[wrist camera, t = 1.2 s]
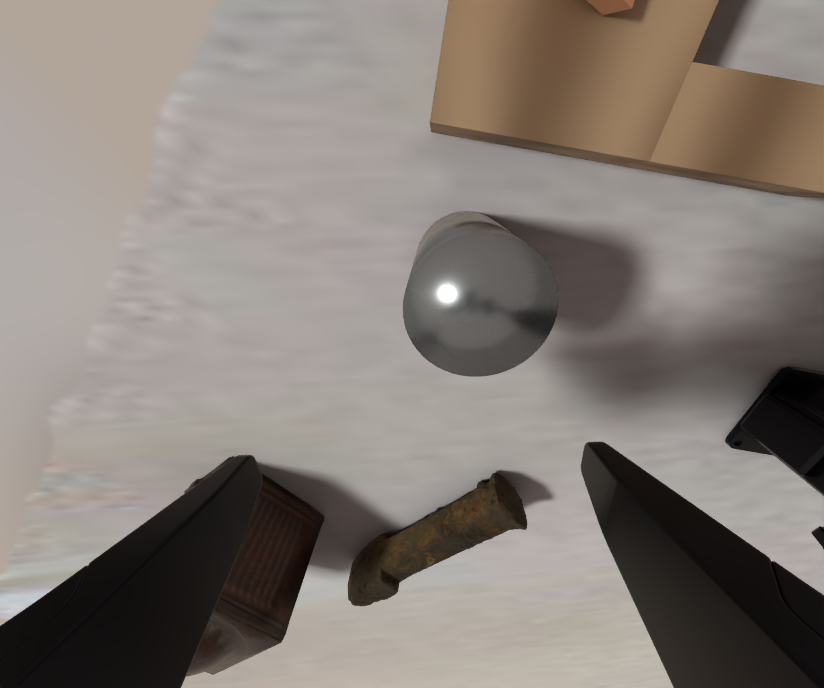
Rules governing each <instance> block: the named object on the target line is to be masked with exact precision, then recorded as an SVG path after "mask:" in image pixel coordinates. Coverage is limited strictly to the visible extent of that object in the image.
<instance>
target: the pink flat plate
mask: <svg viewBox="0 0 824 688" xmlns="http://www.w3.org/2000/svg"><path fill="white" fill-rule="evenodd" d="M587 1H588V2H589V3H590V4H591V5H592V6H593V7H594V8H595V9H596V10H597V11H598V12H600V13H601V14H602V15H606V14H610V13H615V12H619V11H623V10H627V9H632V7H633V4H634V1H635V0H587Z"/></svg>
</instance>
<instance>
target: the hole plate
mask: <svg viewBox="0 0 824 688" xmlns="http://www.w3.org/2000/svg"><path fill="white" fill-rule="evenodd" d="M718 1H719V0H635V1H634V4H633V7H632V9H627V10H623V11H619V12H615V13H610V14H606V15H602V14H601V13H600V12H598V11H597V10H596V9H595V8H594V7H593V6H592V5H591V4H590V3H589V2H588V1H587V0H448V7H447V13H446V20H445V27H444V33H443V40H442V46H441V53H440V59H439V66H438V73H437V79H436V86H435V92H434V99H433V105H432V112H431V119H430V126H431V132H435V133H441V134H446V135H452V136H458V137H463V138H469V139H474V140H480V141H485V142H491V143H497V144H502V145H508V146H513V147H519V148H525V149H530V150H536V151H541V152H547V153H553V154H558V155H564V156H569V157H575V158H581V159H586V160H592V161H597V162H603V163H609V164H614V165H620V166H625V167H631V168H637V169H642V170H648V171H653V172H659V173H665V174H670V175H676V176H681V177H687V178H693V179H698V180H704V181H709V182H715V183H721V184H726V185H732V186H737V187H743V188H749V189H754V190H760V191H765V192H771V193H777V194H782V195H792V196H816V197H824V86H823V85H817V84H812V83H806V82H801V81H795V80H790V79H784V78H779V77H773V76H768V75H762V74H757V73H751V72H746V71H740V70H735V69H729V68H724V67H718V66H713V65H707V64H702V63H696V62H693V59H694V57H695V55H696V52H697V50H698V48H699V45H700V43H701V41H702V38H703V36H704V34H705V31H706V29H707V27H708V24H709V22H710V20H711V18H712V15H713V13H714V11H715V8H716V6H717V4H718Z"/></svg>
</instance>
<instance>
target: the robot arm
mask: <svg viewBox="0 0 824 688" xmlns="http://www.w3.org/2000/svg"><path fill="white" fill-rule="evenodd" d="M725 442H726V443H727V444H728V445H729V446H730V447H731V448H734V449H739V450H745V451H751V452H757V453H762V454H768V455H774V456H775V457H777V458H778V459H779V460H780V461H781V462H783V463H784V464H785V465H786V466H788V467H789V468H790V469H791V470H792V471H794V472H795V473H796V474H797V475H799V476H800V477H801V478H802V479H803V480H805V481H806V482H807V483H808V484H810V485H811V486H812V487H813V488H814V489H816V490H817V491H818V492H819V493H821V494H822V495H823V496H824V372H819V371H813V370H808V369H802V368H796V367H786V368H784V369H782V370H781V371H780V372H779V373H778V374H777V375H776V376H775V378H774V379H773V380H772V381H771V383H770V384H769V385H768V386H767V388H766V389H765V390H764V391H763V393H762V394H761V395H760V396H759V398H758V399H757V400H756V401H755V403H754V404H753V405H752V406H751V408H750V409H749V410H748V411H747V413H746V414H745V415H744V416H743V418H742V419H741V420H740V422H739V423H738V424H737V425H736V427H735V428H734V429H733V430H732V432H731V433H730V434H729V435H728V437H727V438H726V440H725ZM581 471H582V475H583V478H584V481H585V484H586V487H587V490H588V493H589V496H590V499H591V501H592V504H593V507H594V510H595V513H596V516H597V519H598V522H599V525H600V527H601V530H602V533H603V535H604V538H605V540H606V542H607V544H608V547H609V549H610V551H611V553H612V555H613V557H614V560H615V562H616V564H617V566H618V568H619V570H620V573H621V575H622V577H623V579H624V581H625V583H626V585H627V588H628V590H629V592H630V594H631V596H632V598H633V601H634V603H635V605H636V607H637V609H638V611H639V614H640V616H641V618H642V620H643V622H644V624H645V626H646V629H647V631H648V633H649V635H650V637H651V639H652V642H653V644H654V646H655V648H656V650H657V652H658V654H659V657H660V659H661V661H662V663H663V665H664V667H665V670H666V672H667V674H668V676H669V678H670V680H671V683H672V685H673V687H674V688H824V595H823V594H821V593H820V592H818V591H817V590H815V589H814V588H812V587H811V586H809V585H808V584H806V583H805V582H803V581H802V580H801V579H799V578H798V577H796V576H795V575H793V574H792V573H790V572H789V571H788V570H786V569H785V568H783V567H782V566H780V565H779V564H778V563H776V562H774V561H772V562H771V560H770V558H769V557H767V556H766V555H765V554H763V553H762V552H760V551H759V550H757V549H756V548H755V547H753V546H752V545H750V544H749V543H747V542H746V541H745V540H743V539H742V538H740V537H739V536H737V535H736V534H735V533H733V532H732V531H730V530H729V529H727V528H726V527H725V526H723V525H722V524H720V523H719V522H717V521H716V520H715V519H713V518H712V517H710V516H709V515H707V514H706V513H705V512H703V511H702V510H700V509H699V508H697V507H696V506H695V505H693V504H692V503H690V502H689V501H687V500H686V499H685V498H683V497H682V496H680V495H679V494H677V493H676V492H675V491H673V490H672V489H670V488H669V487H667V486H666V485H665V484H663V483H662V482H660V481H659V480H657V479H656V478H655V477H653V476H652V475H650V474H649V473H647V472H646V471H645V470H643V469H642V468H640V467H639V466H637V465H636V464H635V463H633V462H632V461H630V460H629V459H627V458H626V457H625V456H623V455H622V454H620V453H619V452H617V451H616V450H615V449H613V448H612V447H610V446H609V445H607V444H606V443H604V442H588V443H586V444H585V447H584V451H583V457H582V462H581ZM261 485H262V474H261V471H260V469H259V467H258V465H257V462H256V460H255V458H254V457H253V456H252V455H239V456H236V457H235V458H233V459H232V460H230V461H229V462H228V463H226V464H225V465H223V466H222V467H221V468H219V469H218V470H217V471H215V472H214V473H213V474H211V475H210V476H208V477H207V478H206V479H204V480H203V481H202V482H200V483H199V484H197V485H196V486H195V487H193V488H192V489H191V490H189V491H188V492H186V493H185V494H184V495H182V496H181V497H180V498H178V499H177V500H175V501H174V502H173V503H171V504H170V505H169V506H167V507H166V508H164V509H163V510H162V511H160V512H159V513H158V514H156V515H155V516H154V517H152V518H151V519H149V520H148V521H147V522H145V523H144V524H143V525H141V526H140V527H138V528H137V529H136V530H134V531H133V532H132V533H130V534H129V535H127V536H126V537H125V538H123V539H122V540H121V541H119V542H118V543H116V544H115V545H114V546H112V547H111V548H110V549H108V550H107V551H105V552H104V553H103V554H101V555H100V556H99V557H97V558H96V559H94V560H93V561H92V562H90V564H89V565H88V566H85V567H83V568H82V569H81V570H79V571H78V572H77V573H75V574H74V575H72V576H71V577H70V578H68V579H67V580H66V581H64V582H63V583H61V584H60V585H59V586H57V587H56V588H54V589H53V590H52V591H50V592H49V593H47V594H46V595H45V596H43V597H42V598H40V599H39V600H38V601H36V602H35V603H33V604H32V605H30V606H29V607H27V608H26V609H25V610H23V611H22V612H20V613H19V614H17V615H16V616H14V617H13V618H11V619H10V620H8V621H7V622H5V623H4V624H2V625H1V626H0V688H181V686H182V684H183V681H184V679H185V677H186V674H187V672H188V670H189V667H190V665H191V663H192V660H193V658H194V656H195V653H196V651H197V649H198V646H199V644H200V641H201V639H202V637H203V634H204V632H205V630H206V627H207V625H208V623H209V620H210V618H211V616H212V613H213V611H214V609H215V606H216V604H217V602H218V599H219V597H220V595H221V592H222V590H223V587H224V585H225V583H226V580H227V578H228V576H229V573H230V571H231V569H232V566H233V564H234V562H235V559H236V557H237V555H238V552H239V550H240V547H241V545H242V542H243V540H244V537H245V534H246V532H247V529H248V526H249V522H250V519H251V516H252V513H253V510H254V507H255V504H256V501H257V497H258V494H259V491H260V488H261ZM811 533H812V534H813V536H814V537H815V538H816V539H817V541H818V542H819V543H820V544H821V546H822V547H823V549H824V527H820V526H819V527H818V528H817V529H815V530H814V531H812V532H811Z"/></svg>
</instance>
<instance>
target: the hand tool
mask: <svg viewBox="0 0 824 688" xmlns="http://www.w3.org/2000/svg"><path fill="white" fill-rule="evenodd" d="M513 529H523V530H526V529H527V519H526V514H525V511H524V507H523V504H522V500H521V498H520V497H519V495H518V493H517V492H516V490H515V488H514V487H512V486H511V485H510V483H509V482H508V481H507V480H506V479H505V478H504V477H502V476H501V475H499V474H498V473H493V474H492V476H491V478H490V481H489V482H479V483H478V484H477V488H476V489H475V490H474V491H473V492H471V493H469V494H468V495H466V496H464V497H462V498H460V499H459V500H457V501H455V502H454V503H452V504H450V505H448V506H447V507H445V508H443V509H441V510H439V511H437V512H434V513H430V515H429V516H428V517H427V518H424V519H423V520H420V521H418V522H417V523H415V524H414V525H412V526H410V527H408V528H406V529H404V530H403V531H401V532H399V533H397V534H395V535H394V536H391V535H388V534H382V535H380V536H379V537H377V538H376V539H375V540H373V541H372V542H371V543H370V544H369V545H368V546H367V547H366V548H365V549H364V550H362V552H361V553H360V554H359V555H358V556H357V558H356V559H355V560H354V561H353V564H352V567H351V572H350V576H349V581H348V599H349V601H351V603H352V605H355V606H367V605H370V604H372V603H373V602H377V601H380V600H385V599H388V598H390V597H391V596H393V595H395V594H396V593H397V592H398V588H399V582H401V581H402V580H404V579H406V578H407V577H409V576H411V575H413V574H414V573H417V572H420V571H421V570H423V569H426V568H428V567H430V566H432V565H434V564H437V563H439V562H441V561H443V560H445V559H447V558H449V557H451V556H453V555H455V554H457V553H459V552H462V551H464V550H466V549H470V548H471V547H474V546H475V545H477V544H479V543H482V542H483V541H485V540H489V539H492V538H493V537H495V536H498V535H500V534H502V533H504V532H506V531H508V530H513Z"/></svg>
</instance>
